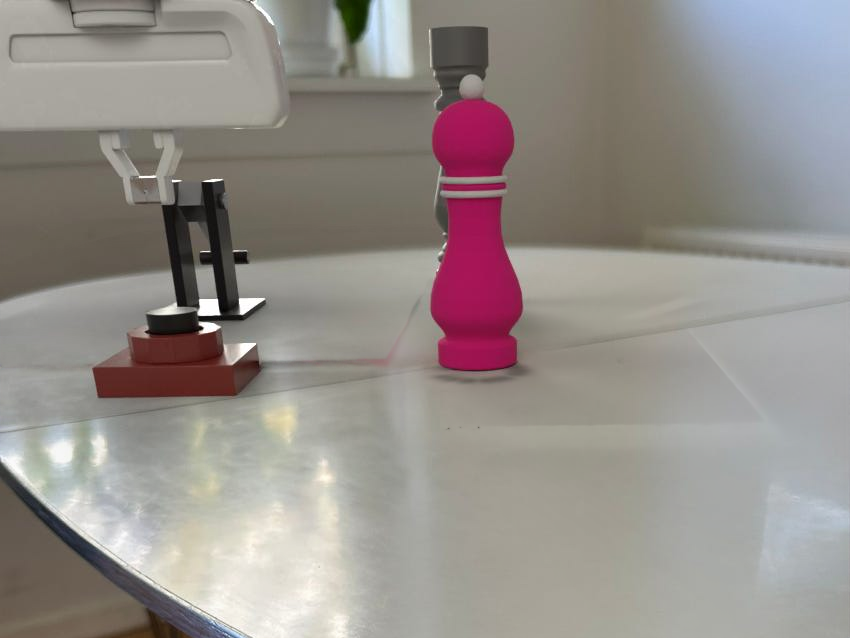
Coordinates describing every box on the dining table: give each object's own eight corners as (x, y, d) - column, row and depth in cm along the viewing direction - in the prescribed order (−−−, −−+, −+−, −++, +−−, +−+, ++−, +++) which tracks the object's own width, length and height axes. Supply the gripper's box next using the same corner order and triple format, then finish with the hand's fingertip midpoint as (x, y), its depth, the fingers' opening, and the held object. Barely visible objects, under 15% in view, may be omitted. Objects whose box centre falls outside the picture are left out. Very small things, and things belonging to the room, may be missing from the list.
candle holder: (459, 297, 110) (452, 33, 98) (506, 301, 107) (503, 28, 95) (425, 305, 105) (412, 29, 94) (472, 309, 102) (465, 24, 91)
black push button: (143, 340, 71) (138, 315, 71) (158, 331, 75) (154, 307, 74) (192, 339, 71) (188, 314, 71) (206, 330, 75) (202, 306, 74)
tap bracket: (181, 315, 103) (160, 179, 97) (267, 313, 103) (251, 177, 97) (150, 332, 94) (125, 184, 89) (244, 331, 94) (225, 182, 88)
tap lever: (202, 272, 104) (203, 250, 105) (249, 271, 104) (250, 249, 104) (162, 205, 92) (163, 181, 93) (216, 204, 92) (216, 180, 92)
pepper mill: (435, 354, 83) (424, 78, 73) (522, 352, 82) (522, 75, 73) (429, 373, 76) (415, 73, 67) (523, 371, 76) (523, 70, 67)
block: (97, 398, 71) (86, 341, 69) (134, 374, 78) (125, 321, 77) (236, 396, 71) (228, 338, 69) (260, 371, 78) (254, 318, 76)
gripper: (-72, -38, 60) (-17, 209, 67) (262, -44, 60) (285, 206, 66) (-23, -24, 66) (24, 203, 72) (283, -30, 65) (303, 199, 72)
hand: (151, 204), depth 69 cm, fingers closed
